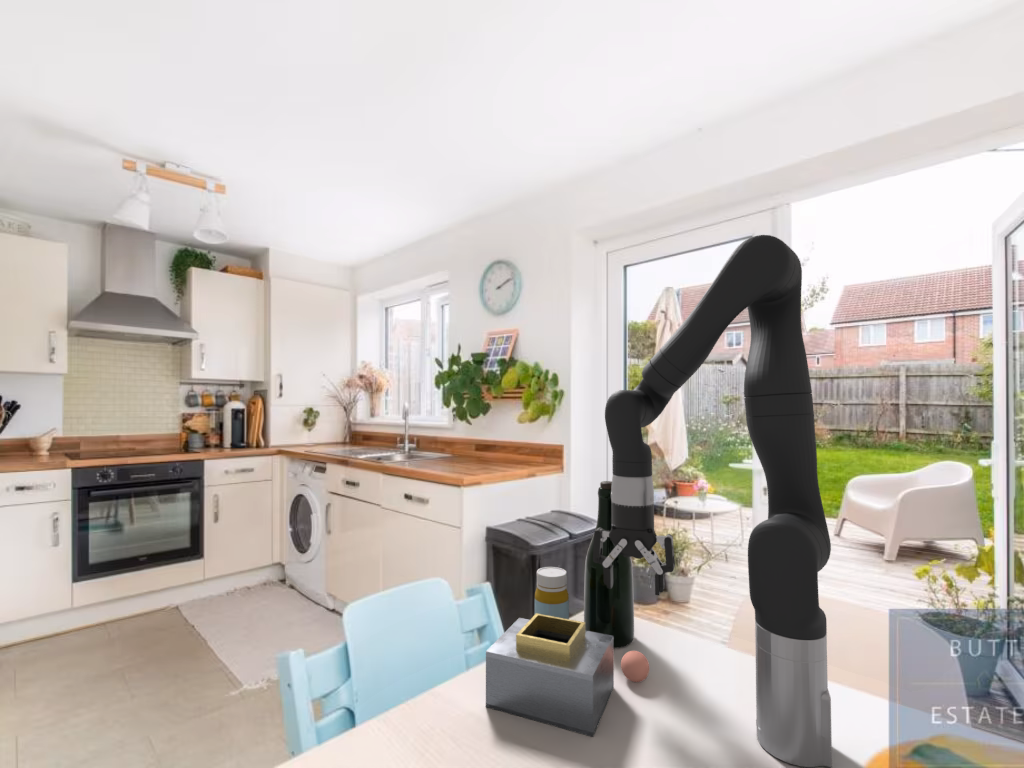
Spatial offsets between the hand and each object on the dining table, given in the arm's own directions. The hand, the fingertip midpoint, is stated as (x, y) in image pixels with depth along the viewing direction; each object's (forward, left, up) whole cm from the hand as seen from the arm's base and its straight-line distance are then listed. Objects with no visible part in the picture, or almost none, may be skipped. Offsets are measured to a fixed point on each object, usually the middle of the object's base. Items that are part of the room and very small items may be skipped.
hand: (633, 590), depth 91 cm
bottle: (+18, -6, -16) cm, 25 cm away
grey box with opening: (+12, +11, -16) cm, 23 cm away
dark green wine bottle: (+8, -14, -16) cm, 23 cm away
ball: (0, 0, -14) cm, 14 cm away
